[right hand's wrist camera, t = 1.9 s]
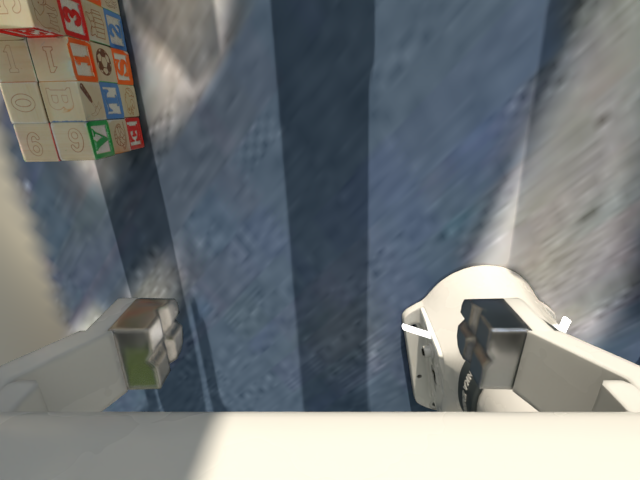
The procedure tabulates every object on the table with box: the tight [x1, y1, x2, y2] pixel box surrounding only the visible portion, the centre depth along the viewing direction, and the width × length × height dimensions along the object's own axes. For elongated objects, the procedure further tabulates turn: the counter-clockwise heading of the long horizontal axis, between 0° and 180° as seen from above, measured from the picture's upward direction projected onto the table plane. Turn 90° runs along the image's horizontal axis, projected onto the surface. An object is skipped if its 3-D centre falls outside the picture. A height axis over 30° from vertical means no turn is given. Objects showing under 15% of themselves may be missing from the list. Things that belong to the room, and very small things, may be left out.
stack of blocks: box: [0, 0, 145, 162], centre depth 29 cm, size 21×6×12 cm, turn 1°
